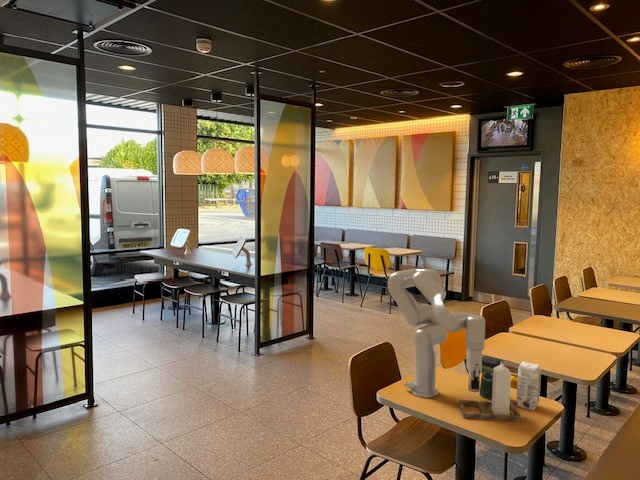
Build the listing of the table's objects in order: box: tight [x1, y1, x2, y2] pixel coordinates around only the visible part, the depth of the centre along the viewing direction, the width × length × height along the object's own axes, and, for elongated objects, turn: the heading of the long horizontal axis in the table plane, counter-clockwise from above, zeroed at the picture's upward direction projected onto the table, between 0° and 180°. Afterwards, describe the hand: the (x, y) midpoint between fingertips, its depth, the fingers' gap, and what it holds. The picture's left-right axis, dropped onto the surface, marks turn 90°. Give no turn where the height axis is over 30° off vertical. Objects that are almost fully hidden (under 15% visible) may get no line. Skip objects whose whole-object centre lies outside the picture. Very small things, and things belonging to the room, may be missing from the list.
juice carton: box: [516, 361, 542, 411], centre depth 210 cm, size 8×9×19 cm
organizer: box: [458, 399, 522, 423], centre depth 204 cm, size 23×13×2 cm, turn 82°
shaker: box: [467, 371, 481, 393], centre depth 204 cm, size 5×5×9 cm
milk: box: [491, 362, 512, 415], centre depth 203 cm, size 6×6×22 cm
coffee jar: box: [479, 355, 504, 401], centre depth 220 cm, size 10×8×19 cm
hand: (473, 386), depth 204 cm, fingers closed on shaker, 4 cm apart
